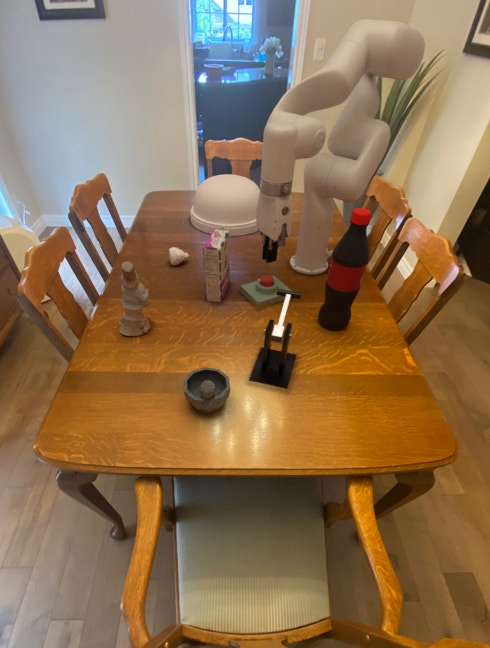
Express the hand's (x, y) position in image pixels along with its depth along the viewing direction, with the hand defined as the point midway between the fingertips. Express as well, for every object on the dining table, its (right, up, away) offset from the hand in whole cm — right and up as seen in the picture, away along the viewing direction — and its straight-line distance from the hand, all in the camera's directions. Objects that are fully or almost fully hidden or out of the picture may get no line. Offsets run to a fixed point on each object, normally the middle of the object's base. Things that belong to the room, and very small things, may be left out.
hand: (269, 259), depth 100 cm
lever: (+1, -20, -18) cm, 27 cm away
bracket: (0, -32, -13) cm, 34 cm away
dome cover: (-12, +33, +43) cm, 56 cm away
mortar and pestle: (-15, -41, -21) cm, 48 cm away
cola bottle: (+17, -18, -1) cm, 25 cm away
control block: (0, -7, +8) cm, 11 cm away
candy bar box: (-15, -6, +9) cm, 18 cm away
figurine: (-36, -20, -3) cm, 41 cm away
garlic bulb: (-28, +6, +20) cm, 35 cm away
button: (0, -5, +6) cm, 8 cm away
